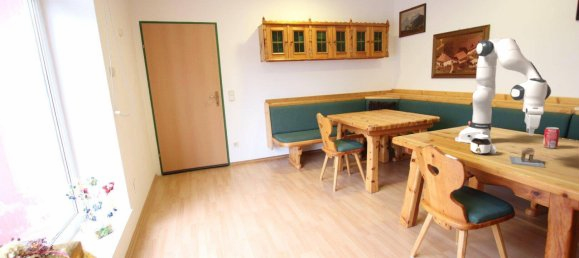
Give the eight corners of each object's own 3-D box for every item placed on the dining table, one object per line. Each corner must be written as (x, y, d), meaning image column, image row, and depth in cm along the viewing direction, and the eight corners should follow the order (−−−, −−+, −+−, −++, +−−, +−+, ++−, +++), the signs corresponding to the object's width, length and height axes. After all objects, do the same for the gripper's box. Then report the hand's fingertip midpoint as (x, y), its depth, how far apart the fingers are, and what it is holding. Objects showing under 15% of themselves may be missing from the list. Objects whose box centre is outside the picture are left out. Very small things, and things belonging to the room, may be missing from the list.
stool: (521, 161, 158) (523, 149, 157) (520, 159, 162) (522, 147, 161) (533, 163, 155) (534, 150, 154) (531, 160, 159) (533, 148, 158)
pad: (511, 163, 157) (511, 162, 157) (509, 156, 168) (509, 156, 168) (544, 167, 149) (545, 166, 149) (540, 160, 161) (540, 159, 161)
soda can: (560, 149, 178) (563, 129, 176) (546, 148, 180) (549, 129, 177) (552, 146, 185) (555, 126, 183) (539, 145, 187) (542, 126, 184)
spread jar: (468, 152, 180) (469, 134, 178) (479, 149, 185) (481, 132, 182) (487, 157, 170) (489, 138, 167) (499, 154, 174) (501, 136, 171)
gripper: (523, 105, 163) (520, 129, 166) (528, 111, 146) (524, 136, 149) (537, 106, 159) (534, 130, 162) (544, 111, 143) (540, 138, 146)
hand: (529, 133), depth 156 cm, fingers open, 8 cm apart
